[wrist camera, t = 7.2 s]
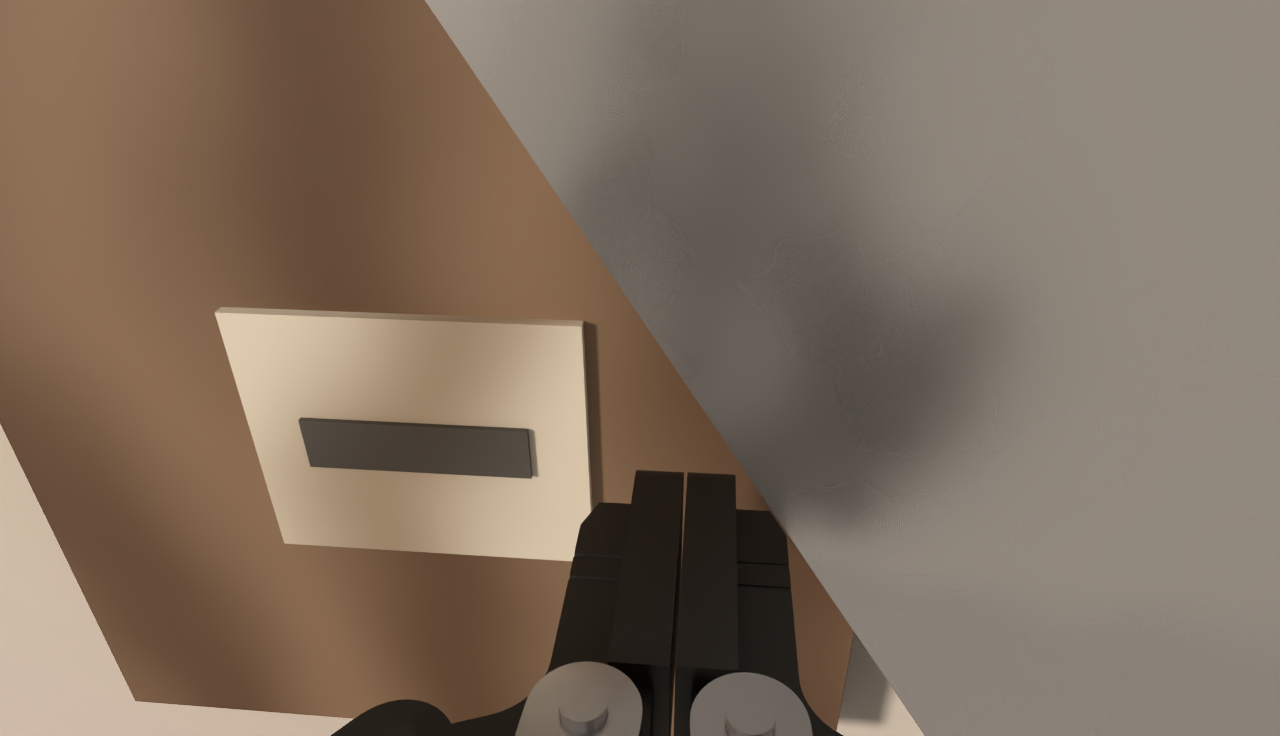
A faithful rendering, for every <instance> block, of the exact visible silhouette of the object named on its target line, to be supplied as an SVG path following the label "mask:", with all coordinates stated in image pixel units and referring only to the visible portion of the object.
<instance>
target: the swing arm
mask: <svg viewBox="0 0 1280 736" xmlns="http://www.w3.org/2000/svg"><path fill="white" fill-rule="evenodd" d="M425 1H426V3H427V4H428V6H429V7H430V9H431V10H432V12H433V13H434V15H435V16H436V17H437V19H438V20H439V22H440V23H441V25H442V26H443V28H444V29H445V31H446V32H447V34H448V35H449V37H450V38H451V40H452V41H453V42H454V44H455V45H456V47H457V48H458V50H459V51H460V53H461V54H462V56H463V57H464V59H465V60H466V62H467V63H468V65H469V66H470V67H471V69H472V70H473V72H474V73H475V75H476V76H477V78H478V79H479V81H480V82H481V84H482V85H483V87H484V88H485V90H486V91H487V92H488V94H489V95H490V97H491V98H492V100H493V101H494V103H495V104H496V106H497V107H498V109H499V110H500V112H501V113H502V115H503V116H504V117H505V119H506V120H507V122H508V123H509V125H510V126H511V128H512V129H513V131H514V132H515V134H516V135H517V137H518V138H519V140H520V141H521V142H522V144H523V145H524V147H525V148H526V150H527V151H528V153H529V154H530V156H531V157H532V159H533V160H534V162H535V163H536V165H537V166H538V167H539V169H540V170H541V172H542V173H543V175H544V176H545V178H546V179H547V181H548V182H549V184H550V185H551V187H552V188H553V190H554V191H555V192H556V194H557V195H558V197H559V198H560V200H561V201H562V203H563V204H564V206H565V207H566V209H567V210H568V212H569V213H570V215H571V216H572V217H573V219H574V220H575V222H576V223H577V225H578V226H579V228H580V229H581V231H582V232H583V234H584V235H585V237H586V238H587V240H588V241H589V242H590V244H591V245H592V247H593V248H594V250H595V251H596V253H597V254H598V256H599V257H600V259H601V260H602V262H603V263H604V265H605V266H606V267H607V269H608V270H609V272H610V273H611V275H612V276H613V278H614V279H615V281H616V282H617V284H618V285H619V287H620V288H621V290H622V291H623V292H624V294H625V295H626V297H627V298H628V300H629V301H630V303H631V304H632V306H633V307H634V309H635V310H636V312H637V313H638V315H639V316H640V317H641V319H642V320H643V322H644V323H645V325H646V326H647V328H648V329H649V331H650V332H651V334H652V335H653V337H654V338H655V340H656V341H657V342H658V344H659V345H660V347H661V348H662V350H663V351H664V353H665V354H666V356H667V357H668V359H669V360H670V362H671V363H672V365H673V366H674V367H675V369H676V370H677V372H678V373H679V375H680V376H681V378H682V379H683V381H684V382H685V384H686V385H687V387H688V388H689V390H690V391H691V392H692V394H693V395H694V397H695V398H696V400H697V401H698V403H699V404H700V406H701V407H702V409H703V410H704V412H705V413H706V415H707V416H708V417H709V419H710V420H711V422H712V423H713V425H714V426H715V428H716V429H717V431H718V432H719V434H720V435H721V437H722V438H723V440H724V441H725V442H726V444H727V445H728V447H729V448H730V450H731V451H732V453H733V454H734V456H735V457H736V459H737V460H738V462H739V463H740V465H741V466H742V467H743V469H744V470H745V472H746V473H747V475H748V476H749V478H750V479H751V481H752V482H753V484H754V485H755V487H756V488H757V490H758V491H759V492H760V494H761V495H762V497H763V498H764V500H765V501H766V503H767V504H768V506H769V507H770V509H771V510H772V512H773V513H774V515H775V516H776V517H777V519H778V520H779V522H780V523H781V525H782V526H783V528H784V529H785V531H786V532H787V534H788V535H789V537H790V538H791V540H792V541H793V542H794V544H795V545H796V547H797V548H798V550H799V551H800V553H801V554H802V556H803V557H804V559H805V560H806V562H807V563H808V565H809V566H810V567H811V569H812V570H813V572H814V573H815V575H816V576H817V578H818V579H819V581H820V582H821V584H822V585H823V587H824V588H825V590H826V591H827V592H828V594H829V595H830V597H831V598H832V600H833V601H834V603H835V604H836V606H837V607H838V609H839V610H840V612H841V613H842V615H843V616H844V617H845V619H846V620H847V622H848V623H849V625H850V626H851V628H852V629H853V631H854V632H855V634H856V635H857V637H858V638H859V640H860V641H861V642H862V644H863V645H864V647H865V648H866V650H867V651H868V653H869V654H870V656H871V657H872V659H873V660H874V662H875V663H876V665H877V666H878V667H879V669H880V670H881V672H882V673H883V675H884V676H885V678H886V679H887V681H888V682H889V684H890V685H891V687H892V688H893V690H894V691H895V692H896V694H897V695H898V697H899V698H900V700H901V701H902V703H903V704H904V706H905V707H906V709H907V710H908V712H909V713H910V715H911V716H912V717H913V719H914V720H915V722H916V723H917V725H918V726H919V728H920V729H921V731H922V732H923V734H924V735H925V736H1280V0H425Z"/></svg>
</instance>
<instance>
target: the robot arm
mask: <svg viewBox="0 0 1280 736" xmlns="http://www.w3.org/2000/svg"><path fill="white" fill-rule="evenodd" d="M683 496H684V472H670V471H650V470H636V473H635V479H634V486H633V493H632V500H631V504H626V503H607V502H599V503H598V504H597V506H596V507H595V508H594V509H593V510H592V512H591V513H590V514H589V515H588V516H587V518H586V519H585V520H584V521H583V522H582V524H581V525H580V529H579V534H578V538H577V543H576V547H575V554H574V557H573V561H572V566H571V570H570V578H569V580H568V584H567V589H566V593H565V598H564V602H563V607H562V611H561V616H560V621H559V625H558V630H557V634H556V639H555V643H554V648H553V653H552V657H551V662H550V665H549V668H548V671H547V673H546V675H545V676H544V677H543V678H541V679H540V680H539V682H538V683H537V684H536V685H535V686H534V687H533V689H532V690H531V692H530V693H529V696H527V697H526V698H525V699H524V700H522V701H521V702H519V703H517V704H516V705H514V706H512V707H510V708H508V709H506V710H503V711H501V712H498V713H494V714H491V715H487V716H482V717H478V718H474V719H469V720H465V721H460V722H456V723H451V722H450V720H449V719H448V718H447V716H446V715H445V714H444V713H443V712H442V711H441V710H439V709H438V708H437V707H435V706H433V705H431V704H429V703H426V702H423V701H419V700H411V699H405V700H395V701H389V702H386V703H383V704H380V705H377V706H375V707H373V708H371V709H368V710H367V711H365V712H364V713H362V714H360V715H359V716H357V717H356V718H355V719H353V720H352V721H350V722H349V723H348V724H346V725H345V726H343V727H342V728H341V729H339V730H338V731H336V732H335V733H334V734H332V735H331V736H671V726H672V711H673V695H674V679H675V698H674V736H843V735H841V734H839V733H838V732H836V731H834V730H833V729H832V728H830V727H829V726H828V725H826V724H825V723H824V722H823V721H822V720H821V719H820V718H819V717H818V716H817V715H816V714H815V713H814V711H813V710H812V709H811V707H810V706H809V704H808V703H807V701H806V699H805V697H804V695H803V692H802V689H801V686H800V680H799V671H798V660H797V648H796V637H795V626H794V614H793V603H792V593H791V581H790V570H789V558H788V547H787V536H786V535H785V533H784V532H783V530H782V528H781V527H780V525H779V524H778V522H777V521H776V519H775V518H774V516H773V515H772V513H771V512H770V511H761V510H742V509H736V476H735V475H733V474H713V473H693V472H688V473H687V488H686V504H685V520H684V536H683V552H682V532H683ZM681 563H682V568H681Z"/></svg>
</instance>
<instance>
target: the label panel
mask: <svg viewBox="0 0 1280 736" xmlns="http://www.w3.org/2000/svg"><path fill="white" fill-rule="evenodd" d="M0 424H1V426H2V428H3V430H4V432H5V434H6V436H7V438H8V440H9V442H10V444H11V446H12V448H13V450H14V452H15V454H16V457H17V459H18V461H19V463H20V465H21V467H22V469H23V471H24V473H25V475H26V477H27V479H28V481H29V483H30V485H31V487H32V489H33V491H34V493H35V496H36V498H37V500H38V502H39V504H40V506H41V508H42V510H43V512H44V514H45V516H46V518H47V520H48V522H49V524H50V526H51V528H52V530H53V532H54V535H55V537H56V539H57V541H58V543H59V545H60V547H61V549H62V551H63V553H64V555H65V557H66V559H67V561H68V563H69V565H70V567H71V569H72V571H73V574H74V576H75V578H76V580H77V582H78V584H79V586H80V588H81V590H82V592H83V594H84V596H85V598H86V600H87V602H88V604H89V606H90V608H91V611H92V613H93V615H94V617H95V619H96V621H97V623H98V625H99V627H100V629H101V631H102V633H103V635H104V637H105V639H106V641H107V643H108V645H109V647H110V650H111V652H112V654H113V656H114V658H115V660H116V662H117V664H118V666H119V668H120V670H121V672H122V674H123V676H124V678H125V680H126V682H127V684H128V686H129V689H130V691H131V693H132V695H133V697H134V699H135V701H142V702H154V703H167V704H179V705H192V706H205V707H217V708H230V709H242V710H255V711H267V712H280V713H292V714H305V715H317V716H330V717H342V718H356V717H357V716H359V715H360V714H362V713H364V712H365V711H367V710H368V709H371V708H373V707H375V706H377V705H380V704H383V703H386V702H389V701H395V700H405V699H411V700H419V701H423V702H426V703H429V704H431V705H433V706H435V707H437V708H438V709H439V710H441V711H442V712H443V713H444V714H445V715H446V716H447V718H448V719H449V720H450V722H451V723H456V722H460V721H465V720H469V719H474V718H478V717H482V716H487V715H491V714H494V713H498V712H501V711H503V710H506V709H508V708H510V707H512V706H514V705H516V704H517V703H519V702H521V701H522V700H524V699H525V698H526V697H527V696H529V693H530V692H531V690H532V689H533V687H534V686H535V685H536V684H537V683H538V682H539V680H540V679H541V678H543V677H544V676H545V675H546V673H547V671H548V668H549V665H550V662H551V657H552V653H553V648H554V643H555V639H556V634H557V630H558V625H559V621H560V616H561V611H562V607H563V602H564V598H565V593H566V589H567V584H568V580H569V578H570V570H571V566H572V561H573V557H574V554H575V547H576V543H577V538H578V534H579V529H580V525H581V524H582V522H583V521H584V520H585V519H586V518H587V516H588V515H589V514H590V513H591V512H592V510H593V509H594V508H595V507H596V506H597V504H598V503H599V502H607V503H626V504H631V500H632V493H633V486H634V479H635V473H636V470H650V471H670V472H684V496H683V532H682V552H683V536H684V520H685V504H686V488H687V473H688V472H693V473H713V474H733V475H735V476H736V509H742V510H761V511H770V512H771V513H772V515H773V516H774V518H775V519H776V521H777V522H778V524H779V525H780V527H781V528H782V530H783V532H784V533H785V535H786V536H787V547H788V558H789V570H790V581H791V593H792V603H793V614H794V626H795V637H796V648H797V660H798V671H799V680H800V686H801V689H802V692H803V695H804V697H805V699H806V701H807V703H808V704H809V706H810V707H811V709H812V710H813V711H814V713H815V714H816V715H817V716H818V717H819V718H820V719H821V720H822V721H823V722H824V723H825V724H826V725H828V726H829V727H830V728H832V729H833V730H834V731H836V730H837V724H838V719H839V713H840V707H841V702H842V696H843V691H844V685H845V679H846V674H847V668H848V663H849V657H850V651H851V646H852V640H853V635H854V631H853V629H852V628H851V626H850V625H849V623H848V622H847V620H846V619H845V617H844V616H843V615H842V613H841V612H840V610H839V609H838V607H837V606H836V604H835V603H834V601H833V600H832V598H831V597H830V595H829V594H828V592H827V591H826V590H825V588H824V587H823V585H822V584H821V582H820V581H819V579H818V578H817V576H816V575H815V573H814V572H813V570H812V569H811V567H810V566H809V565H808V563H807V562H806V560H805V559H804V557H803V556H802V554H801V553H800V551H799V550H798V548H797V547H796V545H795V544H794V542H793V541H792V540H791V538H790V537H789V535H788V534H787V532H786V531H785V529H784V528H783V526H782V525H781V523H780V522H779V520H778V519H777V517H776V516H775V515H774V513H773V512H772V510H771V509H770V507H769V506H768V504H767V503H766V501H765V500H764V498H763V497H762V495H761V494H760V492H759V491H758V490H757V488H756V487H755V485H754V484H753V482H752V481H751V479H750V478H749V476H748V475H747V473H746V472H745V470H744V469H743V467H742V466H741V465H740V463H739V462H738V460H737V459H736V457H735V456H734V454H733V453H732V451H731V450H730V448H729V447H728V445H727V444H726V442H725V441H724V440H723V438H722V437H721V435H720V434H719V432H718V431H717V429H716V428H715V426H714V425H713V423H712V422H711V420H710V419H709V417H708V416H707V415H706V413H705V412H704V410H703V409H702V407H701V406H700V404H699V403H698V401H697V400H696V398H695V397H694V395H693V394H692V392H691V391H690V390H689V388H688V387H687V385H686V384H685V382H684V381H683V379H682V378H681V376H680V375H679V373H678V372H677V370H676V369H675V367H674V366H673V365H672V363H671V362H670V360H669V359H668V357H667V356H666V354H665V353H664V351H663V350H662V348H661V347H660V345H659V344H658V342H657V341H656V340H655V338H654V337H653V335H652V334H651V332H650V331H649V329H648V328H647V326H646V325H645V323H644V322H643V320H642V319H641V317H640V316H639V315H638V313H637V312H636V310H635V309H634V307H633V306H632V304H631V303H630V301H629V300H628V298H627V297H626V295H625V294H624V292H623V291H622V290H621V288H620V287H619V285H618V284H617V282H616V281H615V279H614V278H613V276H612V275H611V273H610V272H609V270H608V269H607V267H606V266H605V265H604V263H603V262H602V260H601V259H600V257H599V256H598V254H597V253H596V251H595V250H594V248H593V247H592V245H591V244H590V242H589V241H588V240H587V238H586V237H585V235H584V234H583V232H582V231H581V229H580V228H579V226H578V225H577V223H576V222H575V220H574V219H573V217H572V216H571V215H570V213H569V212H568V210H567V209H566V207H565V206H564V204H563V203H562V201H561V200H560V198H559V197H558V195H557V194H556V192H555V191H554V190H553V188H552V187H551V185H550V184H549V182H548V181H547V179H546V178H545V176H544V175H543V173H542V172H541V170H540V169H539V167H538V166H537V165H536V163H535V162H534V160H533V159H532V157H531V156H530V154H529V153H528V151H527V150H526V148H525V147H524V145H523V144H522V142H521V141H520V140H519V138H518V137H517V135H516V134H515V132H514V131H513V129H512V128H511V126H510V125H509V123H508V122H507V120H506V119H505V117H504V116H503V115H502V113H501V112H500V110H499V109H498V107H497V106H496V104H495V103H494V101H493V100H492V98H491V97H490V95H489V94H488V92H487V91H486V90H485V88H484V87H483V85H482V84H481V82H480V81H479V79H478V78H477V76H476V75H475V73H474V72H473V70H472V69H471V67H470V66H469V65H468V63H467V62H466V60H465V59H464V57H463V56H462V54H461V53H460V51H459V50H458V48H457V47H456V45H455V44H454V42H453V41H452V40H451V38H450V37H449V35H448V34H447V32H446V31H445V29H444V28H443V26H442V25H441V23H440V22H439V20H438V19H437V17H436V16H435V15H434V13H433V12H432V10H431V9H430V7H429V6H428V4H427V3H426V1H425V0H0ZM681 568H682V563H681ZM674 698H675V679H674V695H673V711H672V726H671V736H674Z"/></svg>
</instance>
